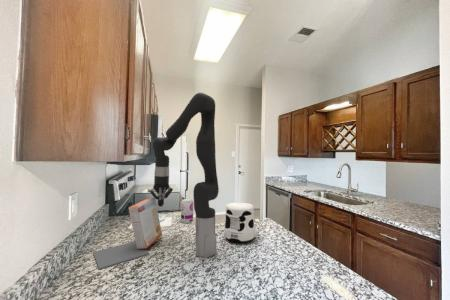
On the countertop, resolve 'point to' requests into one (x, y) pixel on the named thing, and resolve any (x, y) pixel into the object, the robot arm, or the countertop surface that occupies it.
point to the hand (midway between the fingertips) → (160, 206)
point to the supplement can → (187, 211)
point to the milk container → (239, 222)
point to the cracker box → (145, 223)
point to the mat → (118, 255)
